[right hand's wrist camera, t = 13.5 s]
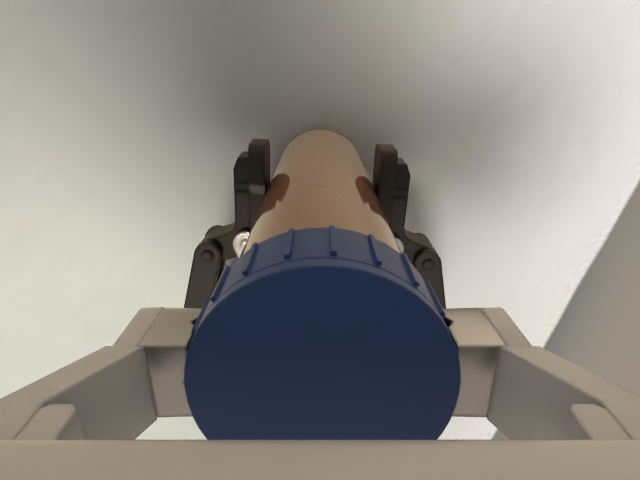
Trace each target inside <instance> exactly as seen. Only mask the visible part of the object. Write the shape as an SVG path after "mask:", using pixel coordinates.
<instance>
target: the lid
mask: <svg viewBox="0 0 640 480" xmlns="http://www.w3.org/2000/svg"><path fill="white" fill-rule="evenodd" d="M444 316H446V314H445V312H444V310H443V308H442V306H441V304H440V302H439V300H438V298H437V296H436V294H435V292H434V290H433V288H432V286H431V284H430V283H429V281H428V279H426V280H425V281H424V280H423V278H422V276H421V275H420V273H419V272H418V271H417V270H416V269H415V267H414V266H413V265H412V264H411V263H410V261H409V259H408V257H407V255H406V254H405V253H404V252H403V253H402V254H400V253H399V252H398V251H396V250H395V249H393V248H392V247H390V246H389V245H387V244H385V243H383V242H381V241H379V240H377V239H375V237H374V235H373V234H369V235H365V234H362V233H359V232H355V231H350V230H346V229H340V228H335V226H334V225H330V226H329V228H328V227H319V228H305V229H299V230H294V228H291V229H289V231H288V232H286V233H282V234H279V235H276V236H274V237H271V238H269V239H267V240H265V241H262V242H261V243H259V244H257V242H255V243H253V244H252V246H251V249H249V250H248V251H247V252H245V253H244V254H243V255H242V256H240V257H239V258H238V259H237V260H236V261H235V262H234V263H233V264H232V265H231V266H230V267H229V266H226V267H225V268H224V270H223V272H222V274H221V276H220V278H219V281H218V283H217V285H216V287H215V289H214V291H213V293H212V295H208V297H207V300H206V302H205V304H204V306H203V308H202V310H201V312H200V314H199V316H198V318H197V320H196V322H195V324H194V326H193V328H192V331H191V333H192V334H194V336H193V338H192V340H191V342H190V345H189V349H188V352H187V355H186V360H185V367H184V388H185V393H186V398H187V403H188V405H189V408H190V411H191V414H192V416H193V418H194V420H195V422H196V423H197V425H198V427H199V429H200V430H201V432H202V433H203V434H204V436H205V437H206V438H207V440H437V439H438V438H439V436H440V435H441V434H442V433H443V431H444V429H445V428H446V426H447V424H448V423H449V421H450V419H451V417H452V414H453V412H454V410H455V407H456V404H457V400H458V396H459V392H460V381H461V372H460V361H459V357H458V353H457V348H456V346H455V343H454V341H453V339H452V336H451V334H450V332H449V330H448V327H447V325H446V323H445V321H444V319H443V317H444Z"/></svg>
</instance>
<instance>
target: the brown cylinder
mask: <svg viewBox="0 0 640 480" xmlns="http://www.w3.org/2000/svg"><path fill="white" fill-rule="evenodd" d="M330 225H334V226H335V228H340V229H346V230H350V231H355V232H359V233H362V234H365V235H369V234H373V235H374V237H375V239H377V240H379V241H381V242H383V243H385V244H387V245H389V246H390V247H392V248H393V249H395V250H396V251H398V252H399V253H400V254H402V253H401V251H400V248H399V246H398V244H397V241H396V239H395V237H394V235H393V232H392V230H391V228H390V225H389V223H388V221H387V218H386V216H385V214H384V212H383V209H382V207H381V205H380V202H379V200H378V198H377V196H376V193H375V191H374V189H373V186H372V184H371V182H370V179H369V177H368V175H367V173H366V170H365V168H364V166H363V163H362V161H361V159H360V157H359V154H358V152H357V150H356V149H355V147H354V146H353V144H352V143H351V142H350V141H349V140H348V139H346V138H345V137H344V136H342V135H340V134H339V133H336V132H334V131H330V130H323V129H318V130H311V131H308V132H305V133H303V134H300V135H299V136H297V137H296V138H294V139H293V140H292V141H291V142H290V143H289V144H288V146H287V147H286V148H285V150H284V152H283V154H282V156H281V159H280V161H279V164H278V166H277V168H276V171H275V173H274V176H273V178H272V180H271V183H270V185H269V188H268V190H267V192H266V195H265V197H264V200H263V202H262V204H261V207H260V209H259V212H258V214H257V216H256V219H255V221H254V224H253V226H252V228H251V231H250V233H249V236H248V238H247V240H246V243H245V245H244V248H243V250H242V252H241V255H240V256H242V255H243V254H244V253H245V252H247V251H248V250H249V249H251V246H252V244H253V243H255V242H257V244H259V243H261V242H262V241H265V240H267V239H269V238H271V237H274V236H276V235H279V234H282V233H286V232H288V231H289V229H291V228H294V230H299V229H305V228H319V227H328V228H329V226H330Z"/></svg>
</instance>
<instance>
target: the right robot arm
mask: <svg viewBox="0 0 640 480" xmlns="http://www.w3.org/2000/svg"><path fill="white" fill-rule="evenodd" d="M201 310H202V308H163V307H154V308H141V309H140V310H139V311H138V313H137V314H136V315H135V317H134V318H133V319H132V321H131V322H130V323H129V325H128V326H127V327H126V329H125V330H124V331H123V333H122V334H121V335H120V337H119V338H118V339H117V341H116V342H115V343H114V345H113V346H105V347H103V348H101V349H99V350H97V351H95V352H93V353H91V354H89V355H87V356H85V357H83V358H81V359H79V360H77V361H75V362H73V363H71V364H69V365H67V366H65V367H63V368H61V369H59V370H57V371H55V372H53V373H51V374H49V375H47V376H45V377H43V378H41V379H39V380H37V381H35V382H33V383H31V384H29V385H27V386H25V387H23V388H21V389H19V390H17V391H15V392H13V393H11V394H9V395H7V396H5V397H3V398H1V399H0V480H640V396H638V395H636V394H634V393H632V392H630V391H627V390H625V389H624V388H622V387H620V386H618V385H615V384H614V383H611V382H610V381H607V380H605V379H603V378H601V377H599V376H597V375H595V374H593V373H591V372H589V371H587V370H585V369H583V368H581V367H579V366H577V365H575V364H573V363H571V362H569V361H567V360H565V359H563V358H561V357H559V356H557V355H555V354H553V353H551V352H549V351H547V350H545V349H543V348H541V347H539V346H531V344H530V343H529V342H528V340H527V339H526V338H525V336H524V335H523V334H522V332H521V331H520V330H519V329H518V327H517V326H516V325H515V323H514V322H513V321H512V319H511V318H510V317H509V316H508V314H507V313H506V312H505V310H504V309H502V308H500V307H492V308H454V309H443V310H444V312H445V314H446V316H444V317H443V319H444V321H445V323H446V325H447V327H448V330H449V332H450V334H451V336H452V339H453V341H454V343H455V346H456V348H457V353H458V357H459V361H460V372H461V381H460V392H459V396H458V400H457V404H456V407H455V410H454V412H453V414H452V416H460V417H487V419H488V420H489V421H490V422H491V423H492V424H493V425H494V426H496V427H497V428H498V429H499V430H500V431H501V432H502V433H504V434H505V435H506V436H507V437H508V438H509V439H510V440H134V439H135V438H137V437H138V436H139V435H140V434H141V433H142V432H143V431H144V430H146V429H147V428H148V427H149V426H150V425H151V424H152V423H153V422H154V421H156V420H157V417H183V416H192V414H191V411H190V408H189V405H188V403H187V398H186V393H185V388H184V367H185V360H186V355H187V352H188V349H189V345H190V342H191V340H192V338H193V336H194V334H192V333H191V331H192V328H193V326H194V324H195V322H196V320H197V318H198V316H199V314H200V312H201Z"/></svg>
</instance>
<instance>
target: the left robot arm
mask: <svg viewBox="0 0 640 480" xmlns="http://www.w3.org/2000/svg"><path fill="white" fill-rule="evenodd" d="M409 182H410V174H409V170H408V166H407V164H406V163H405V162H404V161H403V159H402V158H398V155H397V150H396V149H395V147H394V146H393V145H385V144H377V145H376V149H375V159H374V170H373V182H372V186H373V189H374V191H375V193H376V196H377V198H378V200H379V202H380V205H381V207H382V209H383V212H384V214H385V216H386V218H387V221H388V223H389V225H390V228H391V230H392V232H393V235H394V237H395V239H396V241H397V244H398V246H399V248H400V251H401V253H403V252H404V253H405V254H406V255H407V257H408V259H409V261H410V263H411V264H412V265H413V266H414V267H415V269H416V270H417V271H418V272H419V273H420V275H421V276H422V278H423V280H424V281H425V280H426V279H428V281H429V283H430V284H431V286H432V288H433V290H434V292H435V294H436V296H437V298H438V300H439V302H440V304H441V306H442V308H443V309H446V305H445V295H444V285H443V276H442V266H441V259H440V257H439V256H438V254H437V253H436V251H435V249H434V248H433V246H432V245H431V243H430V241H429V240H428V238H427V237H426V236H425V235H423V234H420V233H416V234H414V233H412V232H409V231H407V230H405V229H404V224H405V216H406V207H407V197H408V191H409V190H408V189H409ZM269 185H270V142H269V139H253V140H252V141H251V142H250V144H249V148H248V152H244V151H243V152H242V153H241V155H240V156H239V157H238V159H237V161H236V164H235V167H234V190H235V192H234V194H235V222H234V223H232V224H229V225H226V226H220V225H216V226H213V227H211V228H210V229H209V230H208V231H207V233H206V235H205V238H204V239H203V241H202V242H201V243H200V244H199V245H198V246H197V248H196V249H195V252H194V257H193V263H192V268H191V273H190V278H189V284H188V289H187V294H186V300H185V305H184V308H203V306H204V304H205V302H206V300H207V297H208V295H212V293H213V291H214V289H215V287H216V285H217V283H218V281H219V278H220V276H221V274H222V272H223V270H224V266H225V262H226V260H227V259H230V258H234V257H238V258H239V257H240V255H241V252H242V250H243V248H244V245H245V243H246V240H247V238H248V236H249V233H250V231H251V228H252V226H253V224H254V221H255V219H256V216H257V214H258V212H259V209H260V207H261V204H262V202H263V200H264V197H265V195H266V192H267V190H268V188H269Z"/></svg>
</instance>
